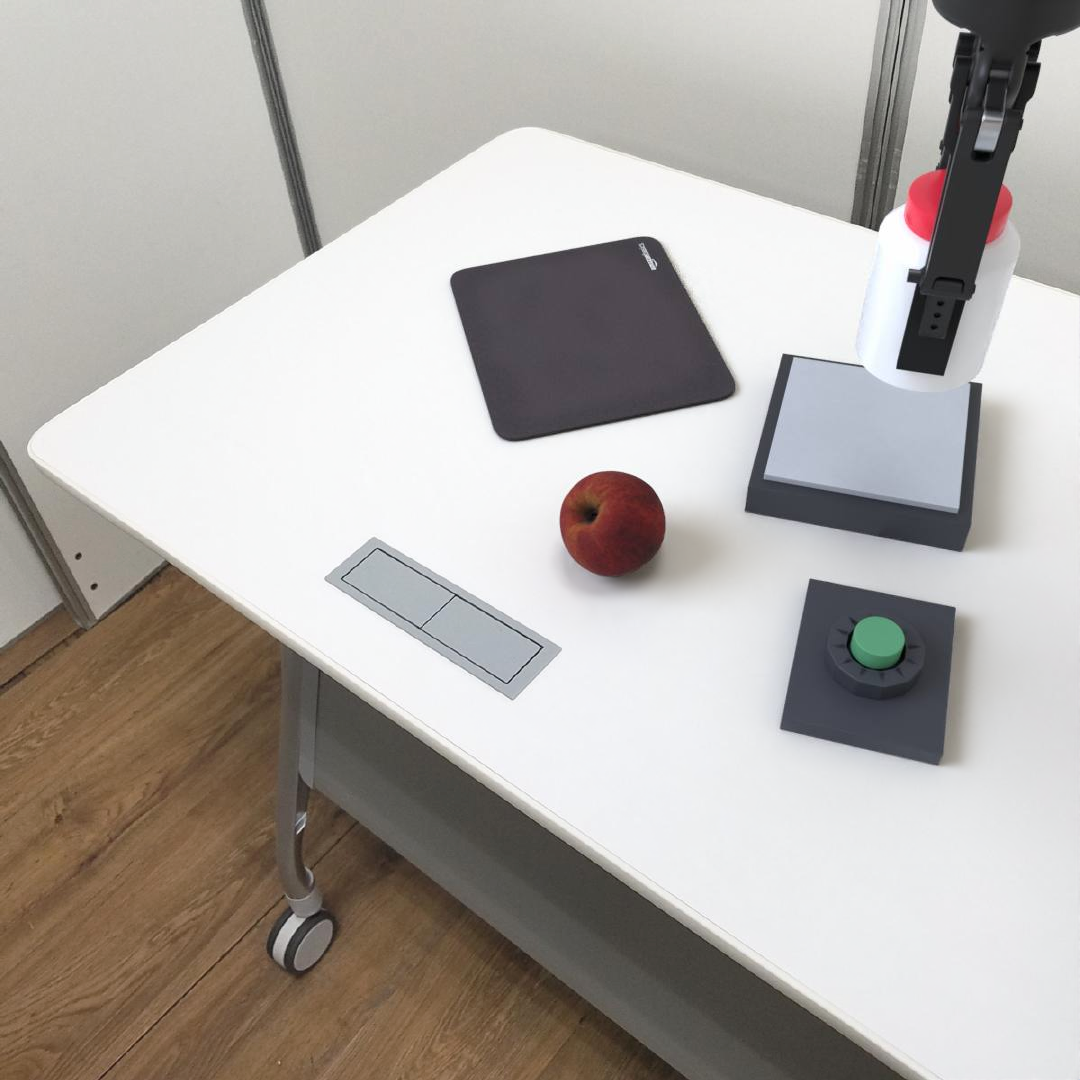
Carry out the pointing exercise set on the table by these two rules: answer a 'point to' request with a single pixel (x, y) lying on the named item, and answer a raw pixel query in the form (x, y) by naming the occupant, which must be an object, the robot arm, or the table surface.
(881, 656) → the green button
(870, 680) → the button base
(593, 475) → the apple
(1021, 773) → the table surface
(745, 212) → the table surface
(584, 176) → the table surface
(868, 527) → the scale
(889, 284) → the pill bottle
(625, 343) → the mouse pad
